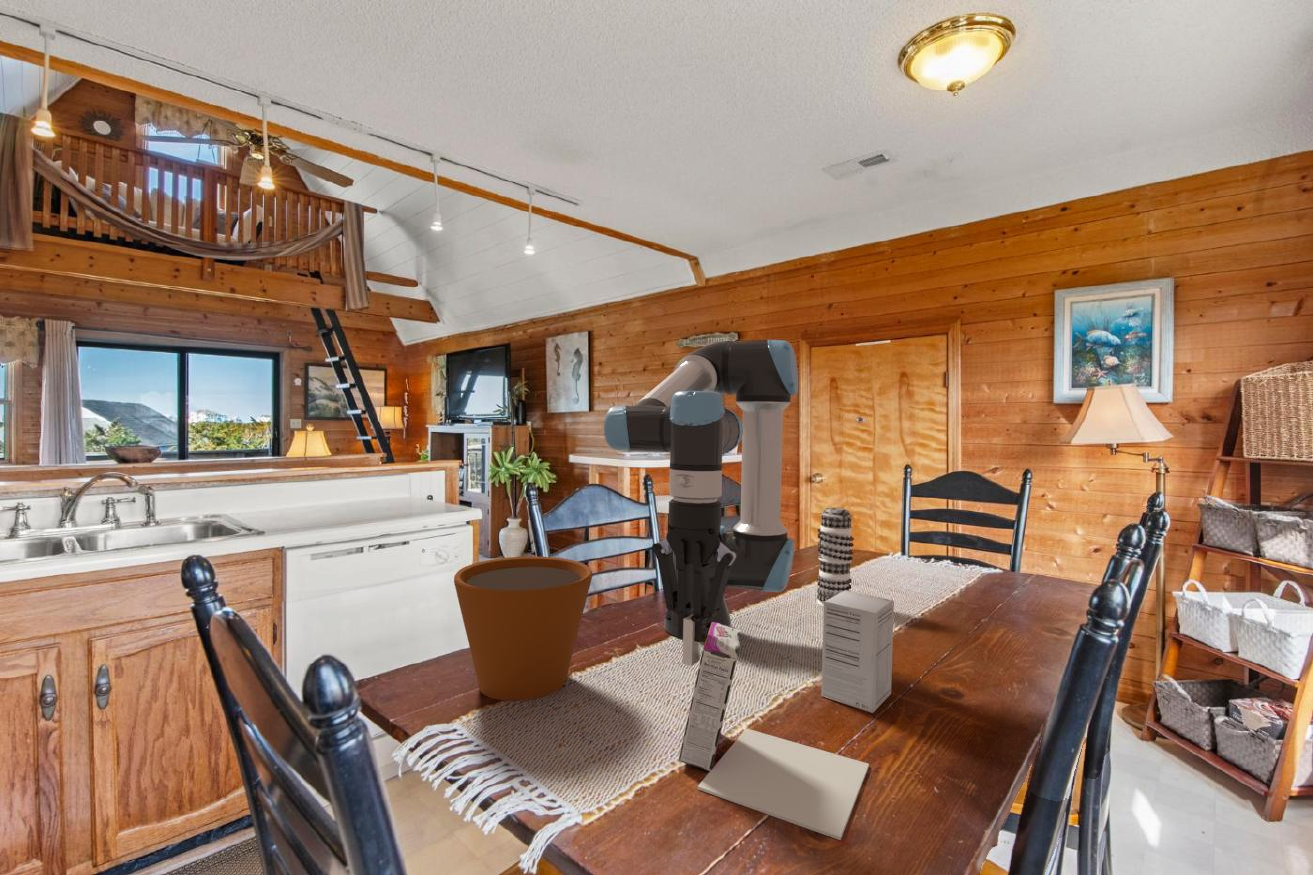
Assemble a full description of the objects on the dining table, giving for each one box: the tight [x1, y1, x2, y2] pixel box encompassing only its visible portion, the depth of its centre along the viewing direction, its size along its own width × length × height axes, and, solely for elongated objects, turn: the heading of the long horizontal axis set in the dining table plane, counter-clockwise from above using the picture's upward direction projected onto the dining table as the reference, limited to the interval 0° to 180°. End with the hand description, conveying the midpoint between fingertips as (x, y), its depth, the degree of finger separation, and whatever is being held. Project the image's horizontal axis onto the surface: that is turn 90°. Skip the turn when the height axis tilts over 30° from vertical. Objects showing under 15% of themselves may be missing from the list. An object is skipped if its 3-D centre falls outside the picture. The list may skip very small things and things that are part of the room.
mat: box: [697, 727, 870, 841], centre depth 80 cm, size 18×17×1 cm
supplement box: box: [820, 590, 895, 714], centre depth 104 cm, size 10×9×17 cm
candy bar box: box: [678, 622, 743, 772], centre depth 86 cm, size 11×5×16 cm, turn 168°
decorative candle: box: [816, 507, 855, 608], centre depth 156 cm, size 9×9×25 cm
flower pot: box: [453, 556, 593, 702], centre depth 107 cm, size 24×24×20 cm
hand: (691, 661), depth 87 cm, fingers closed
